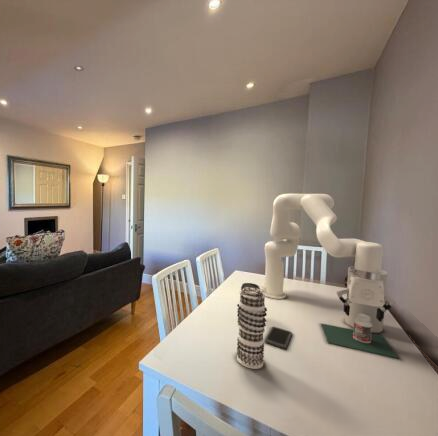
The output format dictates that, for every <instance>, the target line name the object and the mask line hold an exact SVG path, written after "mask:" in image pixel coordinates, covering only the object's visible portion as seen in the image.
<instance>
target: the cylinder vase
mask: <svg viewBox="0 0 438 436" xmlns="http://www.w3.org/2000/svg"><path fill="white" fill-rule="evenodd" d="M354 267H355V265H351V266H348V267H347V281H346V289H348V286H349V282H350V278H351V276H352V275H354V274H352V273H349V270H353V269H354ZM380 279H381V280H382V281H383V285H384V295H385V296H386V297H387V283H388V272H387V271H386V270H383V269H381V273H380ZM345 296H346V298H348V297H347V294H345ZM346 298H345V299H346ZM385 304H386V300H384V305H385ZM349 306H350V312H349V316H347V315H346V313H345V312H344V322H345V323H346V324H347V325H348V326H350V327H352V328H354V320H355V319H357V314H365V315H367V316H369V317H370V318H371V319H370V322H371V323H372V334H377V333H381V332H383V330H384V321H385V317H384V318H383V319H382V322H380V321H378V319H377V318H376V314H377V309H378V308H379V307H375V306H369V305H363V304H357V303H353V302H352V303H351V304H349Z"/></svg>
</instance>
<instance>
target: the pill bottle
mask: <svg viewBox="0 0 438 436" xmlns="http://www.w3.org/2000/svg"><path fill="white" fill-rule="evenodd" d="M370 319H371V318H370V317H369V316H367V315H365V314H357V319H355V320H354V327H353V329H352V330H353V338H354V339H355V340H357V341H359V342H362V343H371V336H372V334H373V333H372V323H371V322H370Z"/></svg>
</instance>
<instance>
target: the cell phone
mask: <svg viewBox="0 0 438 436" xmlns="http://www.w3.org/2000/svg"><path fill="white" fill-rule="evenodd" d="M292 334H293V333H292V331H290V330H287V329H284V328H280V327H278V326H277V327H276V326H271V328H270V330H269V331H268V334H267V335H266V337H265V339H264V343H266V344H268V345H272V346H274V347H277V348H281V349H284V350H286V349H287V347H288V345H289V342H290V340H291V337H292Z"/></svg>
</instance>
